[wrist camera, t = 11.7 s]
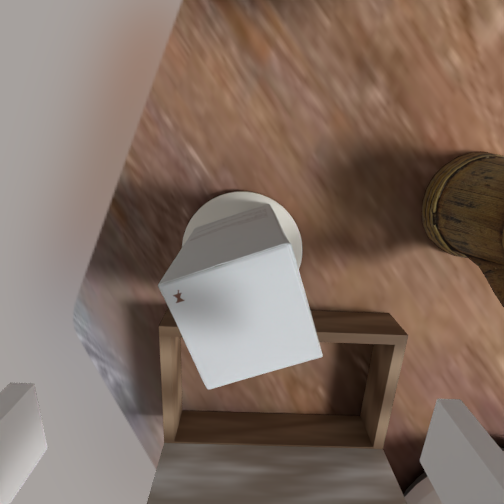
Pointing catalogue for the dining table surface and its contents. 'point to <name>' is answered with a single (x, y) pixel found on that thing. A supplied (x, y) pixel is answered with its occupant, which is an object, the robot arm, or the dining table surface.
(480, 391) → the dining table surface
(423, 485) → the pot
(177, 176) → the dining table surface
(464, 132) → the dining table surface
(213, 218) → the saucer
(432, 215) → the wooden mug
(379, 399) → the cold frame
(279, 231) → the supplement box
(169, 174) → the dining table surface
